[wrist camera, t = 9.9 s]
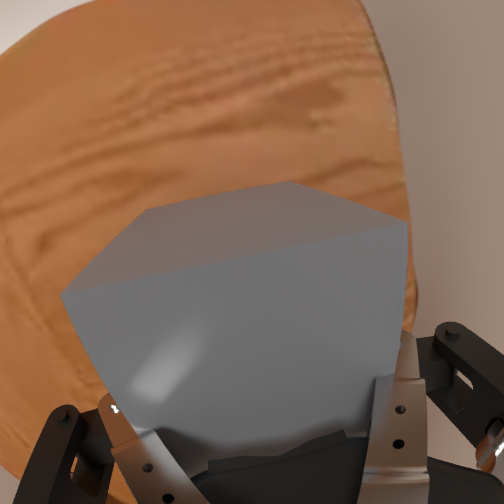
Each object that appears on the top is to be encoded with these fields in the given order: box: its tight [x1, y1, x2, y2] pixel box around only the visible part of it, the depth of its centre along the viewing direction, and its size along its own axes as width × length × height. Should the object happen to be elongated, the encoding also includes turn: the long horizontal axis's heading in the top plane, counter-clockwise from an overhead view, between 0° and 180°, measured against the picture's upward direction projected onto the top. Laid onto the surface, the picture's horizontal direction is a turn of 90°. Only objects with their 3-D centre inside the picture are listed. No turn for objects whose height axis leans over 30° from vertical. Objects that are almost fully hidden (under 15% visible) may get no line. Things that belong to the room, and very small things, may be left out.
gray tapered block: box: [60, 181, 408, 478], centre depth 11 cm, size 10×7×9 cm, turn 9°
